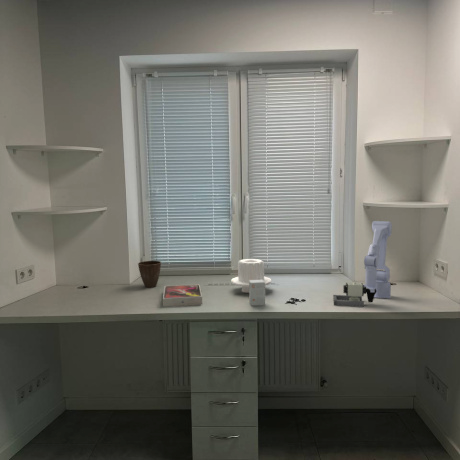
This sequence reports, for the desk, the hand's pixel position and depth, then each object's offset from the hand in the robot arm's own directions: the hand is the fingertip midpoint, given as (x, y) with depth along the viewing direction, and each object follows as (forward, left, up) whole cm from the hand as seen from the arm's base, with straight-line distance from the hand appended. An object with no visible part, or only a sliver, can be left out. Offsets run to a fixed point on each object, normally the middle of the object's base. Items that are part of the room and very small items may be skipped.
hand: (370, 301), depth 211 cm
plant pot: (+137, -15, -1) cm, 138 cm away
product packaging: (+106, +8, -2) cm, 106 cm away
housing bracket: (+11, 0, -1) cm, 11 cm away
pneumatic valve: (+8, 0, -1) cm, 9 cm away
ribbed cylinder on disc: (+69, -16, -1) cm, 71 cm away
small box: (+61, +11, -1) cm, 62 cm away
